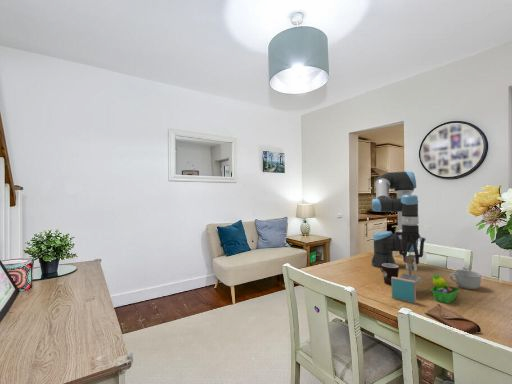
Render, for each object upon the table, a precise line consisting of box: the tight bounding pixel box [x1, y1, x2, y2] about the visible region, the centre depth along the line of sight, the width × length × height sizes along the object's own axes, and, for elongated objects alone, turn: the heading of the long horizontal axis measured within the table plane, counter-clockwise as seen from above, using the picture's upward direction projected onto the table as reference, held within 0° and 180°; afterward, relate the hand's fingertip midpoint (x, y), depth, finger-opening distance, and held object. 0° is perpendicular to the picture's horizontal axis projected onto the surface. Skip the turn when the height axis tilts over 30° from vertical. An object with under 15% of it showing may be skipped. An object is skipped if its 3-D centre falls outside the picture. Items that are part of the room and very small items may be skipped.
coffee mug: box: [379, 263, 400, 286], centre depth 147 cm, size 12×9×10 cm
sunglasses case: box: [423, 303, 482, 335], centre depth 102 cm, size 18×7×7 cm, turn 10°
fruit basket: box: [430, 273, 459, 304], centre depth 123 cm, size 11×9×11 cm
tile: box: [390, 277, 417, 304], centre depth 123 cm, size 2×10×10 cm, turn 47°
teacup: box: [449, 268, 482, 291], centre depth 136 cm, size 14×11×8 cm
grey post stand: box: [398, 254, 421, 284], centre depth 132 cm, size 16×8×11 cm, turn 137°
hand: (411, 269), depth 135 cm, fingers closed on grey post stand, 3 cm apart
